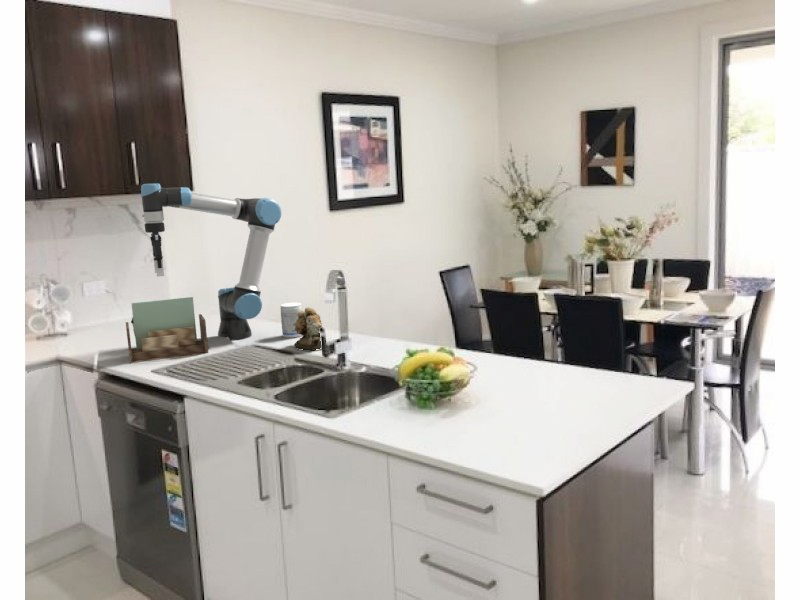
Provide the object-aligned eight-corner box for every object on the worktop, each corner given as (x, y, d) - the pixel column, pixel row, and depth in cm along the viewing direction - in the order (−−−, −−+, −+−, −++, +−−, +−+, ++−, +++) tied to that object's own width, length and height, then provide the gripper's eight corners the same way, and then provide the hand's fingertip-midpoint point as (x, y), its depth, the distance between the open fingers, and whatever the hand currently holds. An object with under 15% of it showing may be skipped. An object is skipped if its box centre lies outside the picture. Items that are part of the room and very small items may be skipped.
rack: (204, 349, 295) (201, 314, 292) (208, 356, 282) (205, 319, 279) (129, 359, 284) (125, 322, 281) (130, 366, 271) (126, 328, 268)
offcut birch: (179, 353, 283) (177, 334, 282) (179, 354, 282) (177, 335, 281) (143, 358, 278) (140, 338, 277) (143, 358, 277) (141, 339, 275)
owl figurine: (286, 346, 295) (283, 307, 292) (309, 341, 302) (307, 303, 299) (309, 352, 281) (307, 311, 278) (333, 347, 289) (331, 307, 286)
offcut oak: (195, 349, 288) (193, 326, 287) (196, 350, 287) (193, 327, 286) (150, 355, 282) (147, 331, 280) (150, 356, 281) (148, 332, 279)
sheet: (197, 348, 292) (192, 296, 288) (197, 348, 290) (192, 297, 287) (137, 355, 283) (131, 303, 279) (137, 356, 282) (131, 303, 278)
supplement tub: (290, 333, 320) (288, 302, 318) (307, 334, 316) (305, 302, 314) (278, 337, 312) (275, 305, 309) (295, 338, 308) (293, 306, 305)
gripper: (143, 221, 287) (148, 272, 291) (145, 224, 265) (151, 278, 268) (162, 220, 290) (166, 270, 294) (166, 222, 267) (171, 276, 271)
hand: (159, 274), depth 281 cm, fingers open, 13 cm apart
